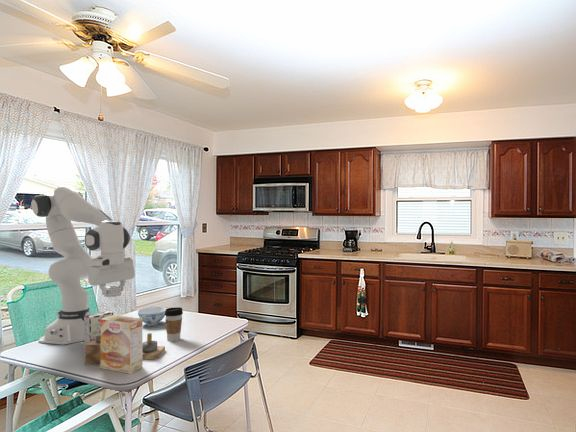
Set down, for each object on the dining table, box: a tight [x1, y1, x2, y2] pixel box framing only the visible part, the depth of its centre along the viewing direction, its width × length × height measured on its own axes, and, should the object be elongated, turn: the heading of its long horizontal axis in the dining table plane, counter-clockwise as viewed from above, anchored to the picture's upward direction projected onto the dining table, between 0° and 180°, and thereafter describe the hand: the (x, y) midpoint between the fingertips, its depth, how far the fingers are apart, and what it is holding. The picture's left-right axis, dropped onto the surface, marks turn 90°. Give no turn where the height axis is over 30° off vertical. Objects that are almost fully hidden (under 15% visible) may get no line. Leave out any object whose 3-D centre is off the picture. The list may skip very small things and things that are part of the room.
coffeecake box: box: [99, 314, 143, 375], centre depth 150 cm, size 15×7×20 cm, turn 69°
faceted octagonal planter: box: [103, 284, 122, 298], centre depth 158 cm, size 6×6×4 cm
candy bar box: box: [83, 310, 114, 348], centre depth 168 cm, size 11×5×16 cm, turn 148°
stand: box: [84, 335, 101, 366], centre depth 156 cm, size 7×7×10 cm
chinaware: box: [137, 306, 167, 327], centre depth 209 cm, size 15×15×8 cm
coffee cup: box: [165, 306, 184, 343], centre depth 184 cm, size 8×8×15 cm
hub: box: [142, 332, 166, 360], centre depth 164 cm, size 10×10×9 cm
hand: (113, 292), depth 158 cm, fingers closed on faceted octagonal planter, 6 cm apart
